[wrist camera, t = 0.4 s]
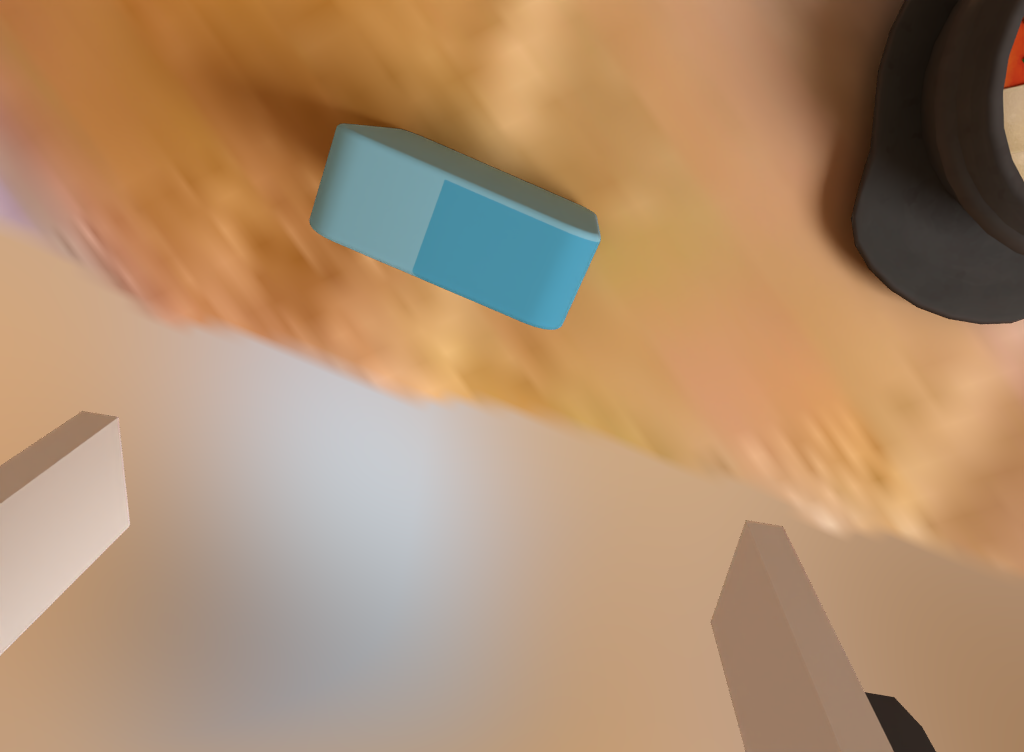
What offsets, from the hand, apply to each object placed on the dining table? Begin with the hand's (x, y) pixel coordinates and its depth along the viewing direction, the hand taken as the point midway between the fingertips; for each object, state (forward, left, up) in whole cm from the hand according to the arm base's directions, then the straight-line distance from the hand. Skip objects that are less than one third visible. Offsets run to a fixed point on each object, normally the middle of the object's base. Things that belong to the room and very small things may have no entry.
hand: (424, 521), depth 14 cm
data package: (-4, -3, -28) cm, 28 cm away
